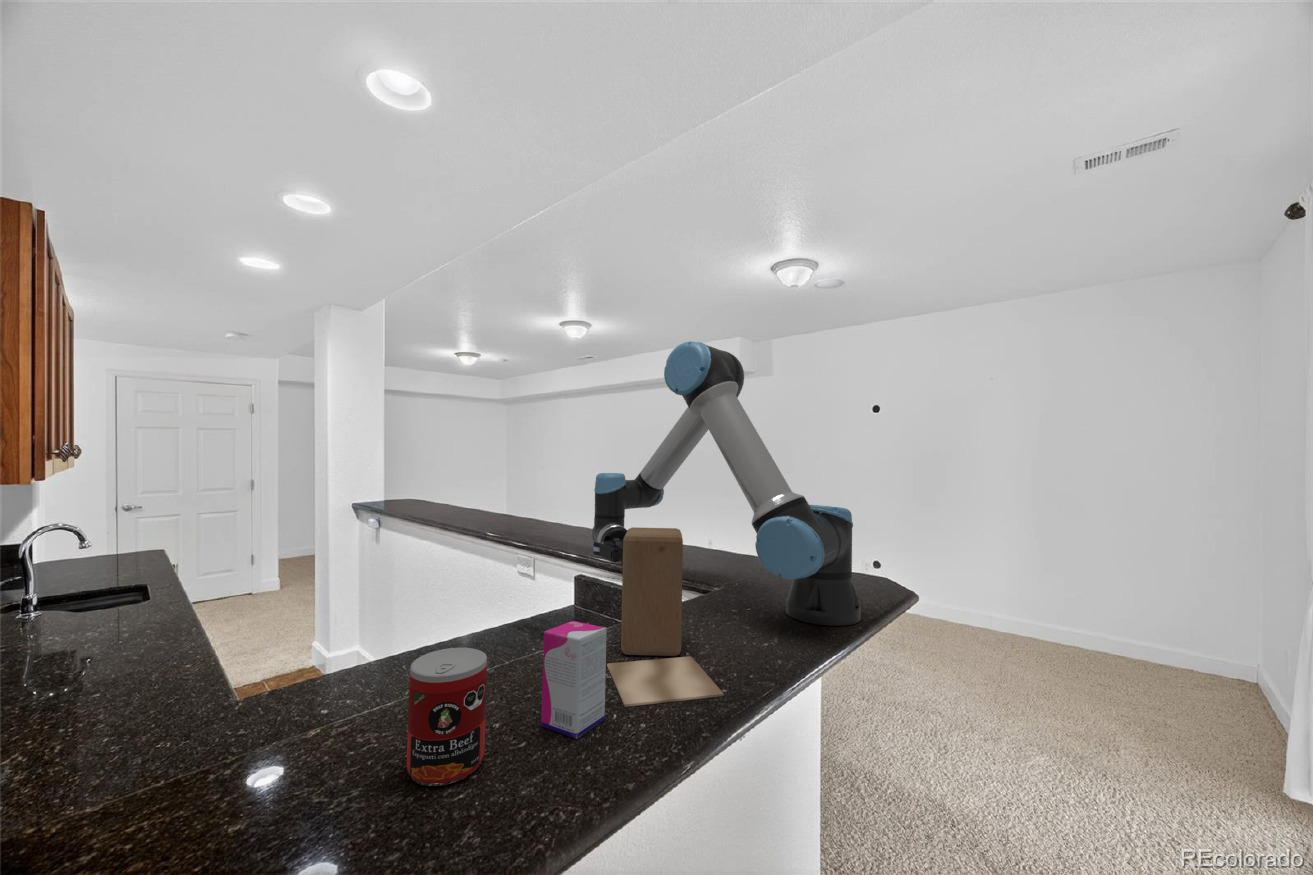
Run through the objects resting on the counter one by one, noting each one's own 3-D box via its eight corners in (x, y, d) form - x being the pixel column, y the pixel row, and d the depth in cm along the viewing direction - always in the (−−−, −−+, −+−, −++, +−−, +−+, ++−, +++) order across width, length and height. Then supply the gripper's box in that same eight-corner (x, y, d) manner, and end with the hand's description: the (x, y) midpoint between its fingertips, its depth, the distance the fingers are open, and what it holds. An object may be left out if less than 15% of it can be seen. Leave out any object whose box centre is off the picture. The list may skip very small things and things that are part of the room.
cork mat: (691, 658, 87) (691, 656, 87) (723, 696, 73) (723, 693, 73) (606, 665, 83) (606, 663, 83) (624, 706, 69) (624, 704, 69)
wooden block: (681, 658, 86) (683, 535, 87) (620, 656, 87) (622, 534, 87) (679, 637, 96) (681, 527, 97) (625, 636, 97) (627, 526, 97)
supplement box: (606, 718, 66) (608, 626, 67) (576, 740, 61) (578, 640, 62) (570, 707, 69) (572, 618, 70) (539, 726, 64) (541, 631, 64)
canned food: (399, 795, 51) (403, 679, 51) (413, 750, 58) (416, 650, 59) (483, 782, 53) (486, 671, 53) (485, 741, 61) (488, 644, 61)
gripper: (643, 557, 124) (671, 581, 101) (587, 559, 120) (603, 584, 97) (643, 525, 124) (672, 541, 101) (588, 526, 121) (604, 543, 98)
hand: (638, 562), depth 99 cm, fingers closed
